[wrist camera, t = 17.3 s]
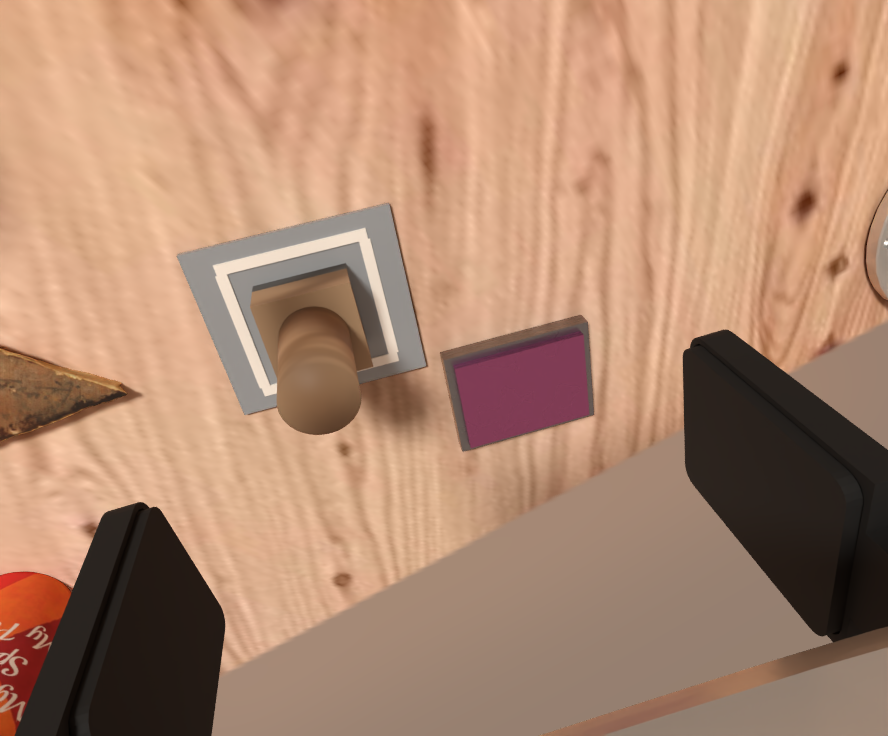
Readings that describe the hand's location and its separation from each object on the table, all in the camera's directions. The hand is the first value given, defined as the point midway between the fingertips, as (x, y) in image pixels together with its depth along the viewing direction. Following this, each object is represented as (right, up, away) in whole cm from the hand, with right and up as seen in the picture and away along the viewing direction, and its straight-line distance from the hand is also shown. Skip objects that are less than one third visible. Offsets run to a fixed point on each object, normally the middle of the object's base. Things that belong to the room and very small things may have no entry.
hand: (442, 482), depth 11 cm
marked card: (-7, +5, +24) cm, 26 cm away
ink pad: (+5, +1, +29) cm, 30 cm away
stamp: (-7, +5, +24) cm, 25 cm away
